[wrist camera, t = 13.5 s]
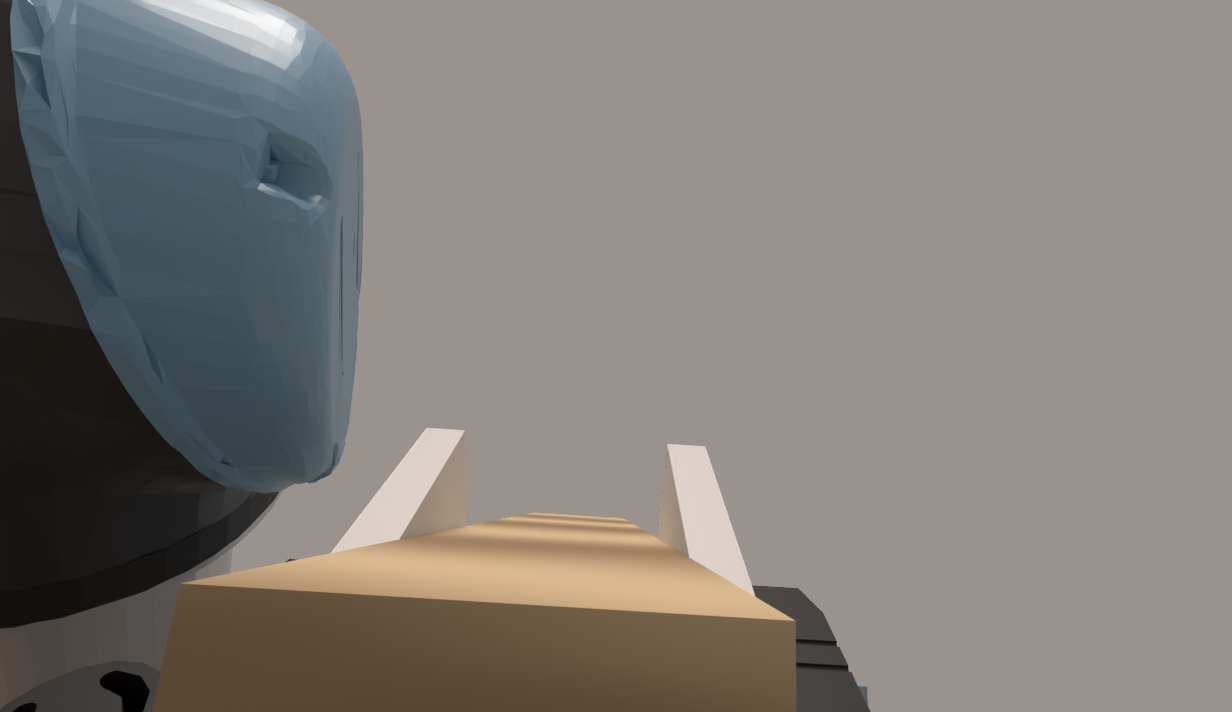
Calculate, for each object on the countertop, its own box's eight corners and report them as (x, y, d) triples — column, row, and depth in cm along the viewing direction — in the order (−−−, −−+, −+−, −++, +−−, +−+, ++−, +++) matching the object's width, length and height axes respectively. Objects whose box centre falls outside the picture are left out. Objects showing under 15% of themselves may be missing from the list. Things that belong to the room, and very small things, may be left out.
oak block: (802, 1483, 3) (796, 620, 4) (-13, 1457, 3) (179, 582, 4) (618, 615, 25) (623, 518, 26) (524, 610, 25) (532, 512, 26)
